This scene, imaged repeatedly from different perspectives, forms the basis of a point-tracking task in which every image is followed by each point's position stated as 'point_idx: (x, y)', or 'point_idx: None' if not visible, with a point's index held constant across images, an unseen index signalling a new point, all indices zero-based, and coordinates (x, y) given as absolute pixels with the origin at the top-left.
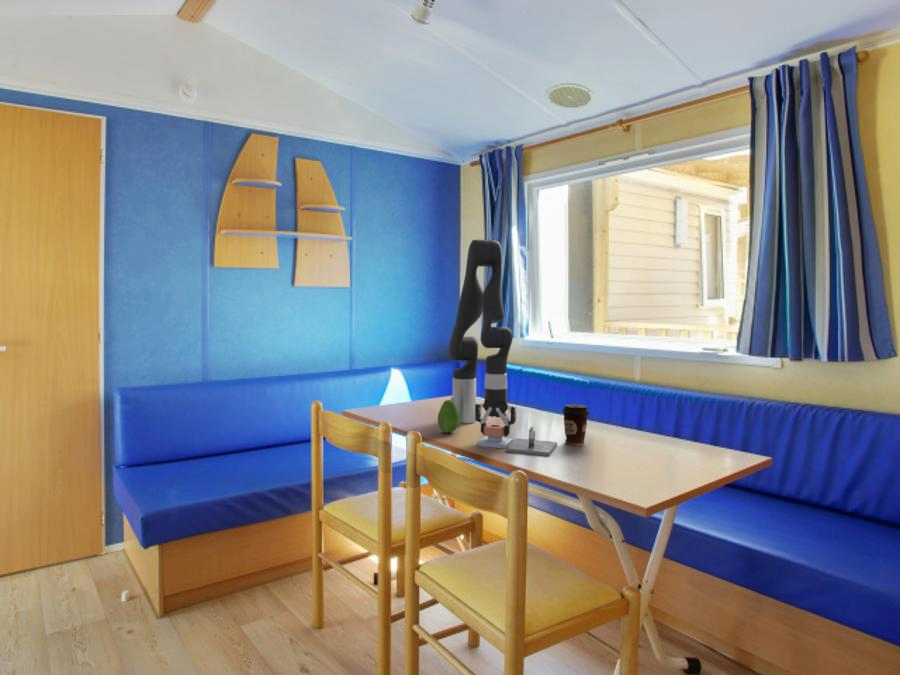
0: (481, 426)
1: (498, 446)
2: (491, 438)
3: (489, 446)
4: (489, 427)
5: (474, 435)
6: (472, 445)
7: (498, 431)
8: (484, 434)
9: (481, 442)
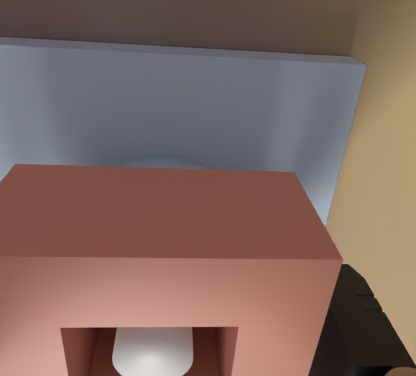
0: (386, 335)
1: (55, 42)
2: None
3: (182, 48)
4: (226, 260)
5: None
6: (398, 52)
7: (38, 217)
8: (292, 181)
9: (300, 93)
